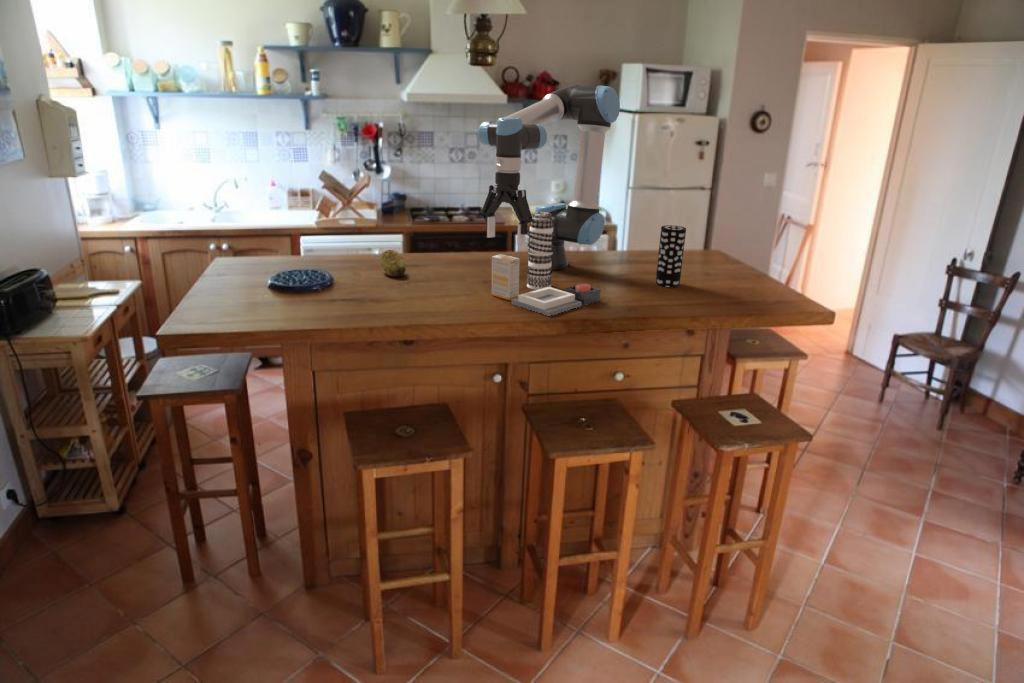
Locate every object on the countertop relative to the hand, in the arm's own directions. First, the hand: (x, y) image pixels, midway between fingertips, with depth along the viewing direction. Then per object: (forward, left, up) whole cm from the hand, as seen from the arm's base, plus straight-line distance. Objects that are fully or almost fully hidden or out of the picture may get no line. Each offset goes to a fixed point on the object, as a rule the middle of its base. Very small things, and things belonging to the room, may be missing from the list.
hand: (505, 240), depth 211 cm
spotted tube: (+26, +54, -19) cm, 63 cm away
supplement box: (0, 0, -19) cm, 19 cm away
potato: (-45, -12, -19) cm, 50 cm away
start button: (+19, +16, -17) cm, 30 cm away
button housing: (+19, +16, -18) cm, 31 cm away
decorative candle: (-1, +17, -19) cm, 25 cm away
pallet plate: (+15, +4, -18) cm, 24 cm away
